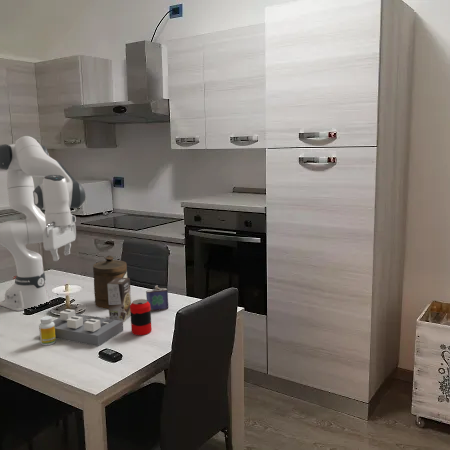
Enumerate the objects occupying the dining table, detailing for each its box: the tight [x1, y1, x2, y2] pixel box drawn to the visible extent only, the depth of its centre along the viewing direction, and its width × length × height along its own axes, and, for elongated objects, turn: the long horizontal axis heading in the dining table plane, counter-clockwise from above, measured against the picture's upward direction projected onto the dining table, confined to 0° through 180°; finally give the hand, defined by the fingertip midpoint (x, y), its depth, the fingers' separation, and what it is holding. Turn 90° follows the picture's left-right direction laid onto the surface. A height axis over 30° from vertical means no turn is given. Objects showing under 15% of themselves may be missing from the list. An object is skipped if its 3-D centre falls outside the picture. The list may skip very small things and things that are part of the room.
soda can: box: [130, 298, 152, 336], centre depth 186 cm, size 8×8×12 cm
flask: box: [145, 284, 169, 312], centre depth 209 cm, size 9×3×11 cm, turn 104°
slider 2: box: [67, 316, 83, 329], centre depth 181 cm, size 4×4×3 cm
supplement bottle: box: [38, 315, 57, 346], centre depth 178 cm, size 5×5×10 cm
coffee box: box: [107, 277, 132, 323], centre depth 200 cm, size 9×6×16 cm
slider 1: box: [59, 308, 76, 321], centre depth 189 cm, size 4×4×3 cm
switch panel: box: [52, 313, 124, 347], centre depth 187 cm, size 32×15×4 cm, turn 66°
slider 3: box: [84, 319, 101, 332], centre depth 178 cm, size 4×4×3 cm
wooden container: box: [92, 255, 128, 310], centre depth 218 cm, size 15×15×22 cm
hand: (62, 257), depth 178 cm, fingers open, 8 cm apart
